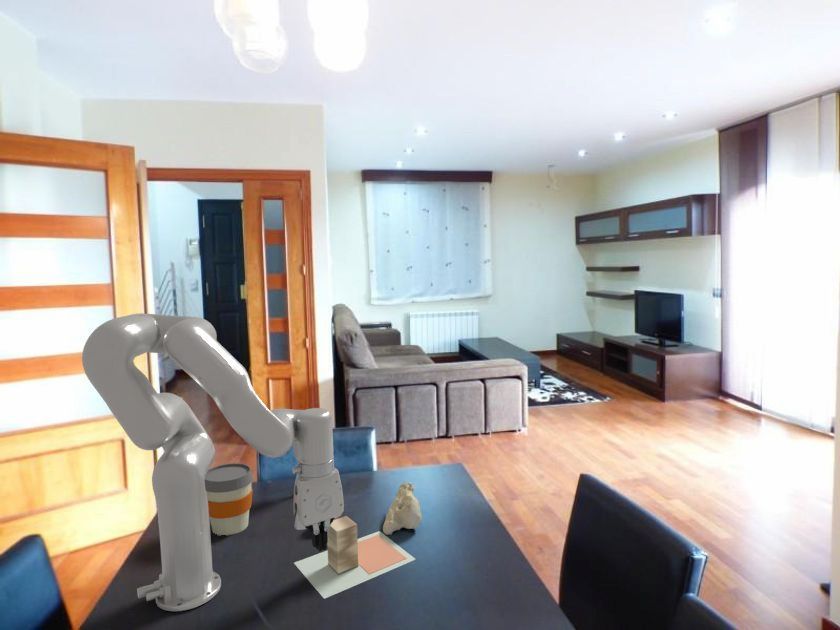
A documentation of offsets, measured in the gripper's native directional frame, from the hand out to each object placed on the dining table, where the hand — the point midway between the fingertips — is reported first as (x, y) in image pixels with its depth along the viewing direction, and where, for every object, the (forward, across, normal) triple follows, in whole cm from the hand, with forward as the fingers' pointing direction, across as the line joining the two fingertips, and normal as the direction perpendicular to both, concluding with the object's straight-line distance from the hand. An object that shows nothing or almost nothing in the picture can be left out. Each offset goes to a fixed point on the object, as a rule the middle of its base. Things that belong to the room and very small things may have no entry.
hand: (320, 547), depth 112 cm
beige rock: (+7, +27, +10) cm, 30 cm away
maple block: (+6, +5, 0) cm, 8 cm away
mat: (+7, +8, 0) cm, 11 cm away
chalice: (+7, +14, +42) cm, 45 cm away
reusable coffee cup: (+7, -10, +35) cm, 37 cm away
